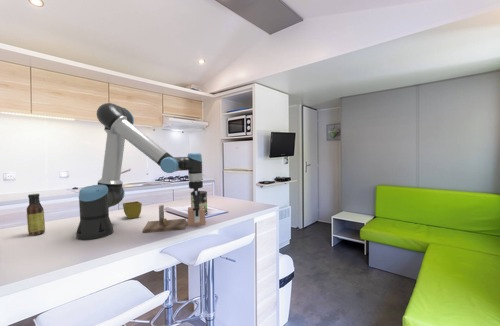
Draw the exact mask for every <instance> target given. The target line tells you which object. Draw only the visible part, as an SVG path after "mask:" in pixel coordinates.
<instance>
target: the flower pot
mask: <svg viewBox="0 0 500 326" xmlns="http://www.w3.org/2000/svg"><path fill="white" fill-rule="evenodd" d="M142 205H143V204H142V202H140V201H129V202H128V201H127V202H124V203H122V207H123V213H124V215H125V217H126V218H127V219H130V220H131V219H135V218H139V217H140V215H141V213H142V207H143V206H142Z"/></svg>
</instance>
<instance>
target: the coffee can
mask: <svg viewBox="0 0 500 326" xmlns="http://www.w3.org/2000/svg"><path fill="white" fill-rule="evenodd" d="M199 191H200V195H199V196H200V198H199V202H200V204H199V207H202V206H204V209H205V213H206V212H207V213H208V191H207V190H199ZM190 207H194V199H193V194H192V191H190Z"/></svg>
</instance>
